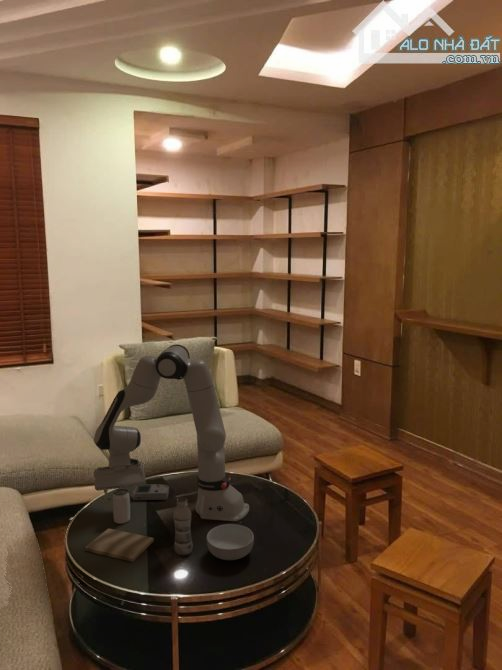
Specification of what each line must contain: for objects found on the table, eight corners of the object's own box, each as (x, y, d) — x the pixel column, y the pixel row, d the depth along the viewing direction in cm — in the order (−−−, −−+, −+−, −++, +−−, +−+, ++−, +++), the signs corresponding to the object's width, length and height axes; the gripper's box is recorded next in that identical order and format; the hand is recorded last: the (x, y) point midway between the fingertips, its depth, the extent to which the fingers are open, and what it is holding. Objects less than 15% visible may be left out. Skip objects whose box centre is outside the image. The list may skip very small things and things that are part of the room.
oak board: (153, 540, 195) (153, 537, 194) (132, 561, 182) (132, 558, 181) (108, 531, 202) (108, 528, 201) (85, 550, 189) (84, 547, 188)
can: (133, 517, 212) (132, 489, 210) (124, 525, 206) (123, 496, 204) (119, 515, 214) (118, 487, 212) (110, 522, 208) (109, 494, 206)
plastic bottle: (185, 560, 182) (183, 506, 179) (170, 554, 186) (168, 501, 183) (196, 551, 188) (195, 498, 185) (182, 545, 191) (180, 494, 188)
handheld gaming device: (166, 500, 227) (166, 492, 226) (132, 501, 226) (132, 493, 226) (169, 491, 235) (169, 483, 235) (136, 492, 235) (136, 484, 235)
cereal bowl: (249, 570, 176) (249, 550, 175) (201, 566, 179) (201, 547, 178) (257, 542, 193) (257, 524, 192) (213, 539, 196) (212, 521, 194)
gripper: (93, 465, 213) (93, 498, 205) (144, 460, 218) (146, 492, 210) (94, 471, 218) (94, 503, 210) (144, 465, 223) (146, 497, 215)
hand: (120, 498), depth 210 cm, fingers open, 8 cm apart
